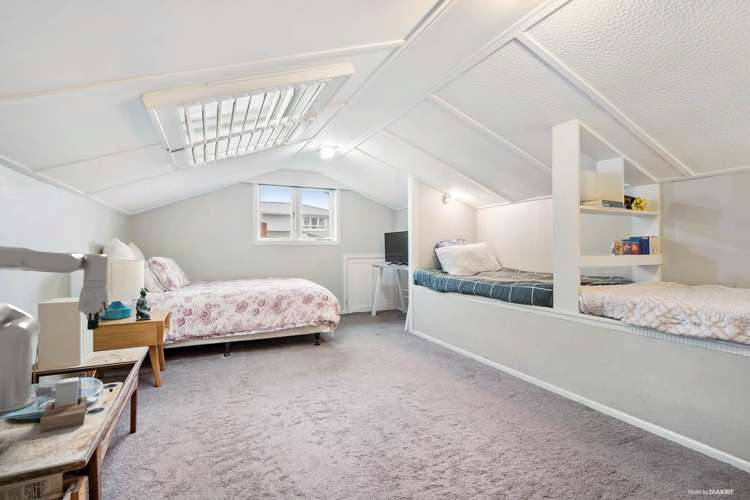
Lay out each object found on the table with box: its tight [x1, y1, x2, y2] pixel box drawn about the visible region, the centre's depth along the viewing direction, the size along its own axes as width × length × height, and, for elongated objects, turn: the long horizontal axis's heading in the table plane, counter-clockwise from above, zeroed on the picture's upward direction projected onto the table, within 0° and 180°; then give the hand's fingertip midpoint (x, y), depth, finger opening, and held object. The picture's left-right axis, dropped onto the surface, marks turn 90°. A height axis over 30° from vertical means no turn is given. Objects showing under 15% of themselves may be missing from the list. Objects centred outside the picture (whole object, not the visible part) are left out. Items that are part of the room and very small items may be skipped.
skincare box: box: [54, 376, 80, 409], centre depth 125 cm, size 6×4×12 cm
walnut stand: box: [39, 396, 88, 434], centre depth 123 cm, size 14×11×4 cm
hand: (92, 329), depth 142 cm, fingers closed
